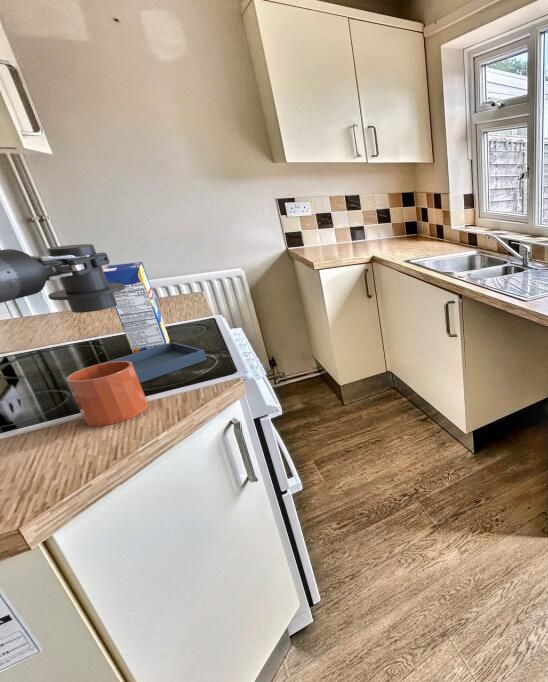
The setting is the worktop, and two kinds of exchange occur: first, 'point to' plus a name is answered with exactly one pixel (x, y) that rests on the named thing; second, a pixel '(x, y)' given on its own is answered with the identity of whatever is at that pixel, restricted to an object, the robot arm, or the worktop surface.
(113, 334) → the worktop surface
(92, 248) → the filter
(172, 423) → the worktop surface
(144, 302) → the beverage box
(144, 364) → the tray
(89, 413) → the cup
